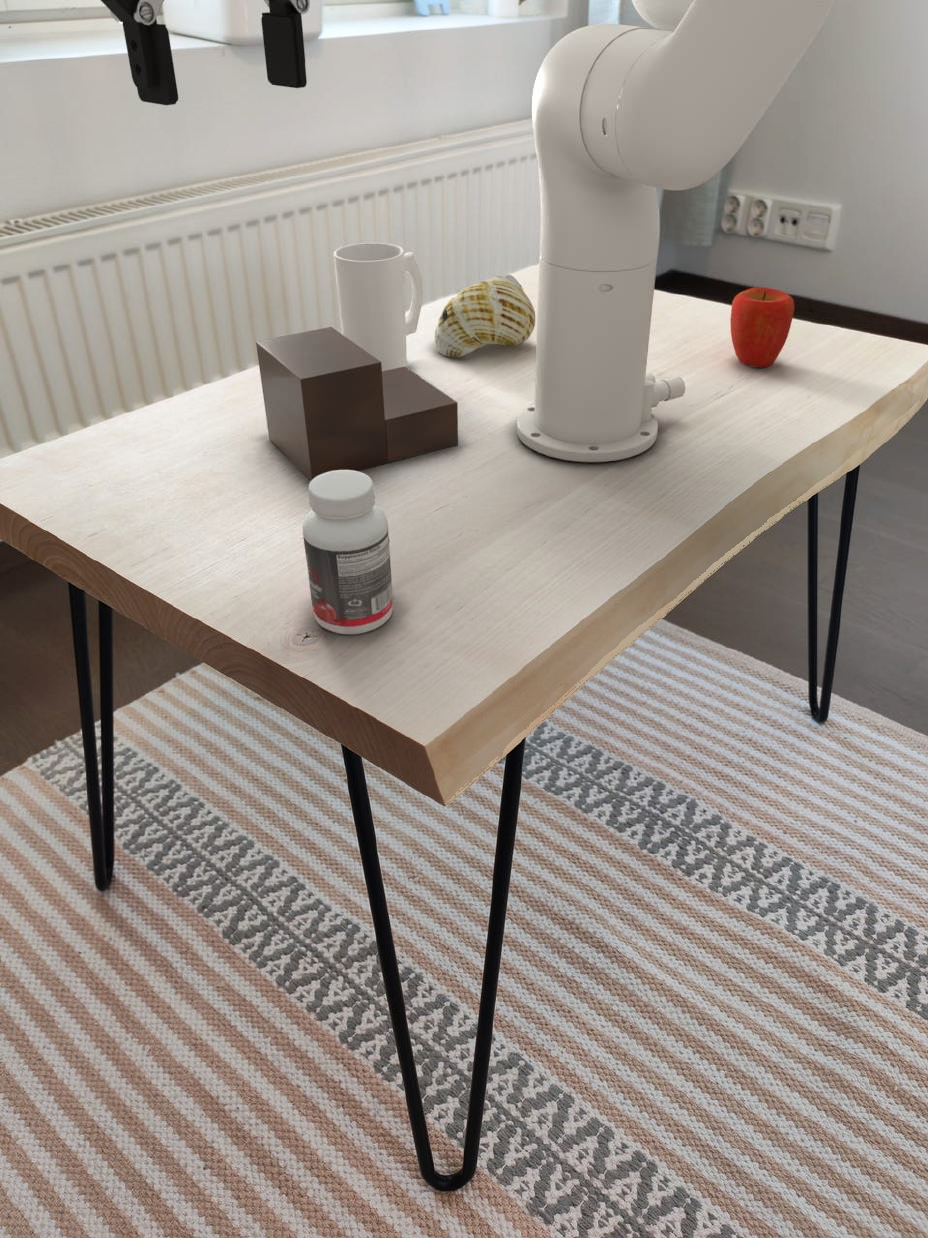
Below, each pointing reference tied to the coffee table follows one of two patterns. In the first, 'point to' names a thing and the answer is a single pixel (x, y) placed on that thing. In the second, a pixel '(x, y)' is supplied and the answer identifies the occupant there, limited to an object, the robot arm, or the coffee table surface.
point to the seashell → (485, 317)
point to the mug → (378, 299)
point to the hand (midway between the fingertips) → (226, 93)
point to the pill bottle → (347, 553)
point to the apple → (760, 325)
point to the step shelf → (347, 405)
